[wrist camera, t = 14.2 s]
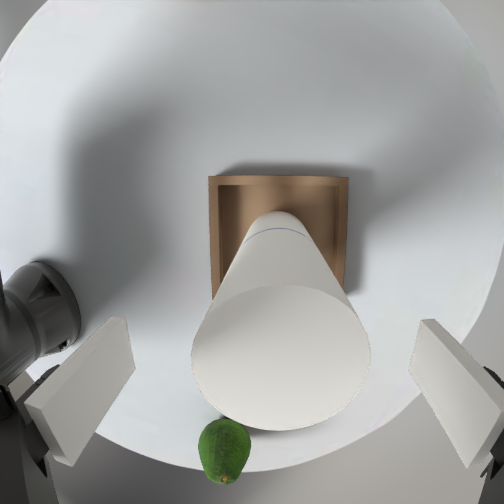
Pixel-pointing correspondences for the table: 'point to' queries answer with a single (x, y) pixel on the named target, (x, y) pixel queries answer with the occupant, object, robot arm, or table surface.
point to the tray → (277, 199)
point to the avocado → (224, 450)
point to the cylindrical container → (280, 333)
